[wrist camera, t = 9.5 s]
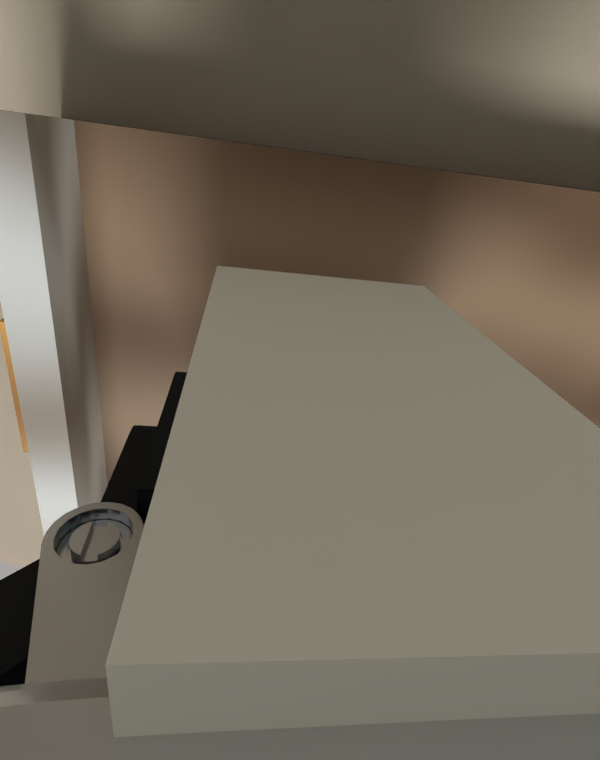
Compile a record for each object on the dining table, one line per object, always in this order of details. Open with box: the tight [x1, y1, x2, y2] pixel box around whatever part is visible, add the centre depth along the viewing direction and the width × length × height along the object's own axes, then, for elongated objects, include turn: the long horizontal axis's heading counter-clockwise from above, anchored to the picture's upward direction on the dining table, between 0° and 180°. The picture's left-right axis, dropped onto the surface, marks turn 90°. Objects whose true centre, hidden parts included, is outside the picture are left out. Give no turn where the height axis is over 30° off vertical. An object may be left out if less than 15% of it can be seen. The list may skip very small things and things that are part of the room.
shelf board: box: [0, 110, 600, 536], centre depth 14 cm, size 12×24×4 cm, turn 83°
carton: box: [105, 266, 600, 737], centre depth 8 cm, size 5×7×9 cm
